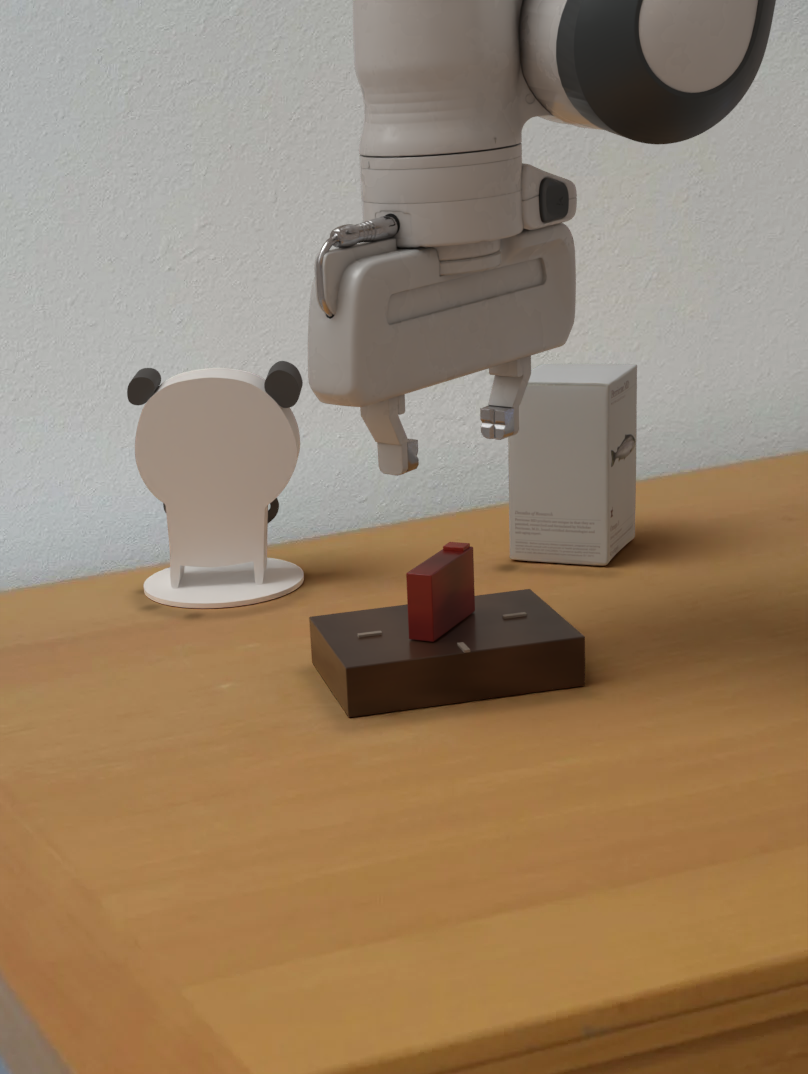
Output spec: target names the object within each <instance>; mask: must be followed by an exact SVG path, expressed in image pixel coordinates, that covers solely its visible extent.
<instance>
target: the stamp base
mask: <svg viewBox="0 0 808 1074" xmlns="http://www.w3.org/2000/svg"><path fill="white" fill-rule="evenodd" d="M308 621H309V637H310V650H311V653H310V654H311V663H312V665H313V666H314V668H315V669H316V670H317V672H318V674H319V675H320V677H321V678H322V680H323V681H324V683H325V684H326V686H327V687H328V688H329V691H330V692H331V693H332V695H333V696H334V698H335V699H336V701H337V702H338V704H339V705H340V707H341V708H342V710H343V711H344V712H345V714H346V715H347V717H348V718H355V717H356V718H357V717H364V716H370V715H379V714H384V713H386V714H387V713H393V712H399V711H407V710H408V711H409V710H414V709H422V708H428V707H437V706H443V705H444V706H445V705H450V704H451V705H453V704H459V703H460V704H461V703H466V702H473V701H481V700H488V699H495V698H503V697H510V696H518V695H525V694H532V693H540V692H541V693H542V692H548V691H554V690H561V689H570V688H576V687H577V688H578V687H585V686H586V636H585V635H584V634H582V632H581V631H579V630H578V629H577V628H576V627H574V625H572V624H571V623H570V622H569V621H568V620H566V619H565V617H563V616H562V615H561V614H560V613H559V612H557V611H556V610H555V609H554V608H553V607H551V606H550V605H549V604H548V603H547V602H546V601H544V600H543V598H541V597H540V596H539V595H537V594H536V593H535V591H533V590H532V589H531V588H526V589H525V588H524V589H519V590H509V591H502V592H494V593H486V594H479V595H478V594H477V595H475V611H474V612H473V613H472V614H470V615H469V616H468V617H466V618H465V619H464V620H462V621H461V622H459V623H458V624H457V625H455V626H454V627H453V628H451V629H450V630H449V631H447V632H446V633H445V634H443V635H442V636H441V637H439V638H438V639H437V640H435V641H434V642H430V641H421V640H411V639H409V627H408V604H400V605H399V604H398V605H391V606H385V607H377V608H376V607H375V608H368V609H361V610H352V611H345V612H337V613H329V614H320V615H313V616H309V617H308Z"/></svg>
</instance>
